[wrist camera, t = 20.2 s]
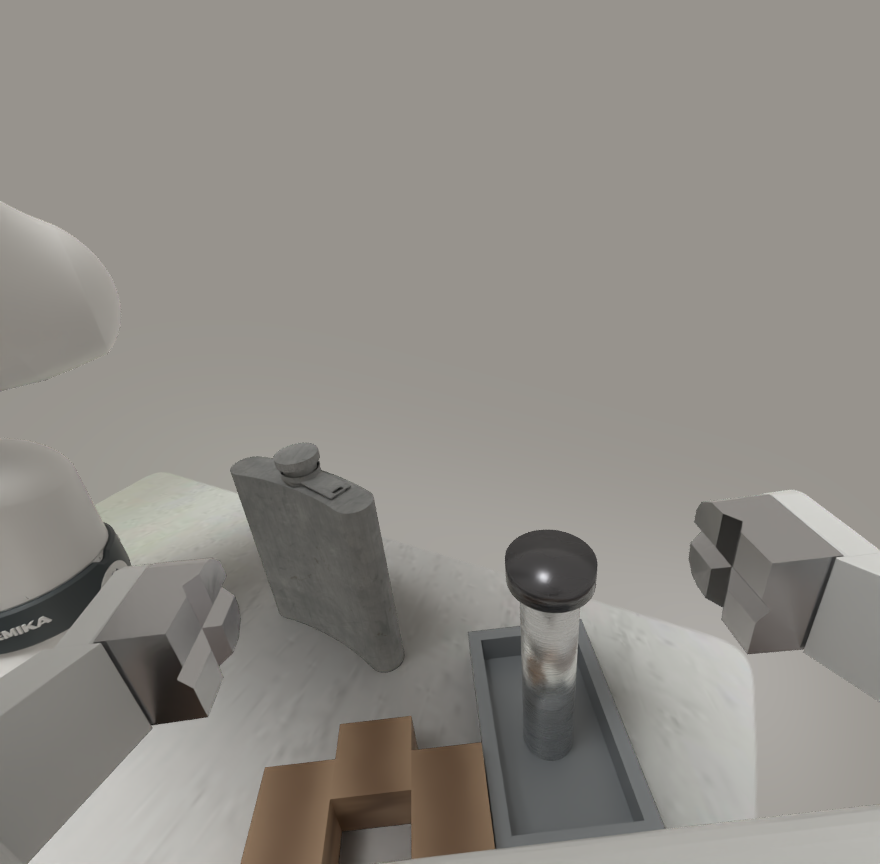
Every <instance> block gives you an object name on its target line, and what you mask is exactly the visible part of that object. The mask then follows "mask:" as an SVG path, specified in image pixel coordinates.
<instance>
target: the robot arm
mask: <svg viewBox="0 0 880 864" xmlns="http://www.w3.org/2000/svg"><path fill="white" fill-rule="evenodd" d="M120 323H121V306H120V300H119V296H118V292H117V289H116V286H115V284H114V282H113V280H112V278H111V276H110V275H109V273H108V271H107V269H106V268H105V267H104V265H103V264H102V263H101V261H100V260H99V259H98V258H97V257H96V256H95V255H94V254H93V252H91V251H90V250H89V249H88V248H87V247H86V246H85V245H84V244H83V243H81V242H80V241H79V240H78V239H76V238H75V237H74V236H72V235H70V234H69V233H67V232H66V231H64V230H62V229H61V228H59V227H57V226H55V225H53V224H50V223H48V222H45V221H42V220H39V219H37V218H34V217H32V216H30V215H27V214H25V213H23V212H21V211H19V210H17V209H15V208H13V207H11V206H9V205H7V204H5V203H3V202H2V201H0V391H4V390H8V389H12V388H16V387H20V386H24V385H28V384H32V383H37V382H41V381H46V380H48V379H50V378H52V377H55V376H57V375H60V374H62V373H65V372H67V371H70V370H72V369H74V368H77V367H79V366H81V365H84V364H86V363H88V362H90V361H92V360H95V359H97V358H99V357H101V356H104V355H106V354H108V353H109V351H110V350H111V348H112V347H113V345H114V343H115V341H116V339H117V335H118V333H119V329H120ZM694 522H695V523H696V525H697V526H698V527H699V528H700V530H701V532H700V533H699V534H698V535H697V537H696V538H695V539H694V540H693V541H692V542H691V544H690V552H689V562H690V567H691V573H692V576H693V578H694V580H695V582H696V585H697V586H698V588H699V589H700V591H701V592H702V594H703V595H704V596H705V598H707V599H708V600H710V601H712V602H714V603H716V604H717V605H719V606H721V607H723V610H722V621H723V622H724V624H725V625H726V626H727V627H728V629H729V630H730V632H731V633H732V635H733V636H734V637H735V638H736V640H737V641H738V642H739V644H740V645H741V647H742V648H743V649H744V651H745V652H746V653H747V654H756V653H768V652H779V651H790V650H801V649H804V651H803V652H804V653H805V654H807V655H808V656H810V657H811V658H813V659H814V660H816V661H817V662H819V663H820V664H822V665H823V666H825V667H826V668H828V669H829V670H831V671H833V672H834V673H836V674H837V675H839V676H840V677H842V678H843V679H845V680H846V681H848V682H849V683H851V684H852V685H854V686H855V687H857V688H858V689H860V690H861V691H863V692H864V693H866V694H868V695H869V696H871V697H872V698H874V699H875V700H877V701H878V702H880V550H879V549H878V548H876V547H875V546H874V545H872V544H871V543H870V542H868V541H867V540H866V539H864V538H863V537H862V536H860V535H859V534H858V533H856V532H855V531H854V530H852V529H851V528H849V527H848V526H847V525H846V524H844V523H843V522H842V521H840V520H839V519H838V518H836V517H835V516H834V515H832V514H831V513H830V512H828V511H827V510H826V509H824V508H823V507H822V506H820V505H819V504H818V503H816V502H815V501H814V500H812V499H811V498H810V497H808V496H807V495H806V494H804V493H802V492H799V491H796V490H786V491H778V492H771V493H765V494H761V495H755V496H747V497H738V498H730V499H722V500H713V501H705V502H701V504H700V505H699V507H698V508H697V510H696V515H695V521H694ZM226 576H227V575H226V573H225V571H224V568H223V566H222V564H221V562H220V561H219V560H217V559H214V558H205V559H194V560H184V561H173V562H162V563H154V564H144V565H135V566H131V563H130V560H129V557H128V555H127V553H126V551H125V549H124V547H123V545H122V544H121V542H120V539H119V537H118V535H117V534H116V533H115V531H114V530H113V528H112V527H111V526H110V525H109V524H107V523H105V522H103V521H102V519H101V517H100V515H99V513H98V511H97V509H96V507H95V505H94V503H93V501H92V499H91V498H90V495H89V493H88V491H87V489H86V488H85V486H84V484H83V482H82V480H81V478H80V476H79V474H78V472H77V470H76V468H75V466H74V464H73V463H72V462H71V461H70V460H69V459H68V458H67V457H66V456H64V455H63V454H62V453H60V452H59V451H57V450H55V449H53V448H51V447H48V446H46V445H43V444H40V443H36V442H32V441H28V440H21V439H11V438H0V864H28V863H29V861H30V860H31V859H32V858H33V857H34V856H35V855H36V854H37V853H38V852H39V851H40V850H41V848H42V847H43V846H44V845H45V844H46V843H47V842H48V841H49V840H50V839H51V838H52V837H53V835H54V834H55V833H56V832H57V831H58V830H59V829H60V828H61V827H62V826H63V825H64V824H65V822H66V821H67V820H68V819H69V818H70V817H71V816H72V815H73V814H74V813H75V812H76V811H77V810H78V808H79V807H80V806H81V805H82V804H83V803H84V802H85V801H86V800H87V799H88V798H89V797H90V795H91V794H92V793H93V792H94V791H95V790H96V789H97V788H98V787H99V786H100V785H101V784H102V782H103V781H104V780H105V779H106V778H107V777H108V776H109V775H110V774H111V773H112V772H113V771H114V769H115V768H116V767H117V766H118V765H119V764H120V763H121V762H122V761H123V760H124V759H125V758H126V757H127V755H128V754H129V753H130V752H131V751H132V750H133V749H134V748H135V747H136V746H137V745H138V744H139V742H140V741H141V740H142V739H143V738H144V737H145V736H146V735H147V734H148V733H149V732H150V731H151V729H152V726H151V725H158V724H165V723H172V722H178V721H185V720H192V719H199V718H206V717H208V716H209V713H210V711H211V708H212V706H213V703H214V701H215V698H216V696H217V693H218V690H219V688H220V685H221V683H222V680H223V678H224V677H223V675H222V672H221V670H220V668H219V666H220V665H221V664H222V663H223V662H224V661H225V660H226V659H227V658H228V657H229V656H230V655H231V654H232V653H233V652H234V649H235V646H236V644H237V641H238V638H239V630H240V621H241V618H240V611H239V606H238V603H237V600H236V598H235V595H233V594H232V593H230V592H229V591H227V590H226V589H225V588H223V587H222V585H223V583H224V581H225V579H226ZM374 864H880V804H875V805H866V806H858V807H849V808H841V809H832V810H824V811H815V812H807V813H798V814H790V815H781V816H773V817H764V818H755V819H747V820H738V821H730V822H721V823H713V824H704V825H696V826H687V827H679V828H670V829H662V830H653V831H645V832H636V833H628V834H619V835H611V836H602V837H593V838H585V839H576V840H568V841H559V842H551V843H543V844H534V845H526V846H517V847H509V848H500V849H492V850H483V851H475V852H467V853H458V854H450V855H441V856H433V857H424V858H416V859H408V860H399V861H391V862H382V863H374Z"/></svg>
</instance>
